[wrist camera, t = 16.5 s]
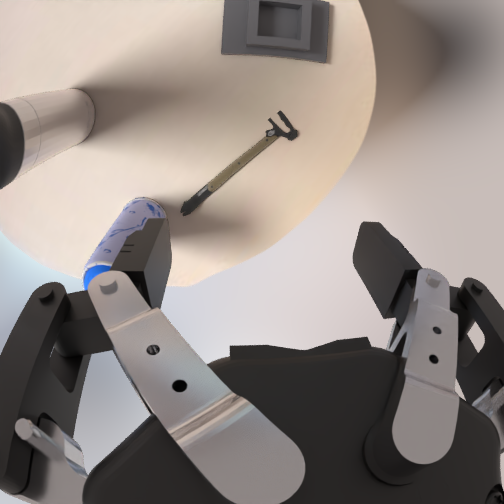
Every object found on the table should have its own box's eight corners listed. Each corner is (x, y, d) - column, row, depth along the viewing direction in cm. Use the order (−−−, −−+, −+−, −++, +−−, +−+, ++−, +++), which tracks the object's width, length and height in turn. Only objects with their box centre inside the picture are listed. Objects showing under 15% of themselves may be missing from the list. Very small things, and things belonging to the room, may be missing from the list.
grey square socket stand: (221, 54, 30) (220, 51, 28) (225, -7, 25) (225, -16, 22) (323, 63, 32) (332, 61, 29) (326, 4, 26) (335, -3, 23)
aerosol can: (159, 247, 46) (129, 340, 29) (117, 231, 44) (68, 317, 27) (173, 207, 42) (141, 294, 25) (127, 190, 40) (69, 266, 23)
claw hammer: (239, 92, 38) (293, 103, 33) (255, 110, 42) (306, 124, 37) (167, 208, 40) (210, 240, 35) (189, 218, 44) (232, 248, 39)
